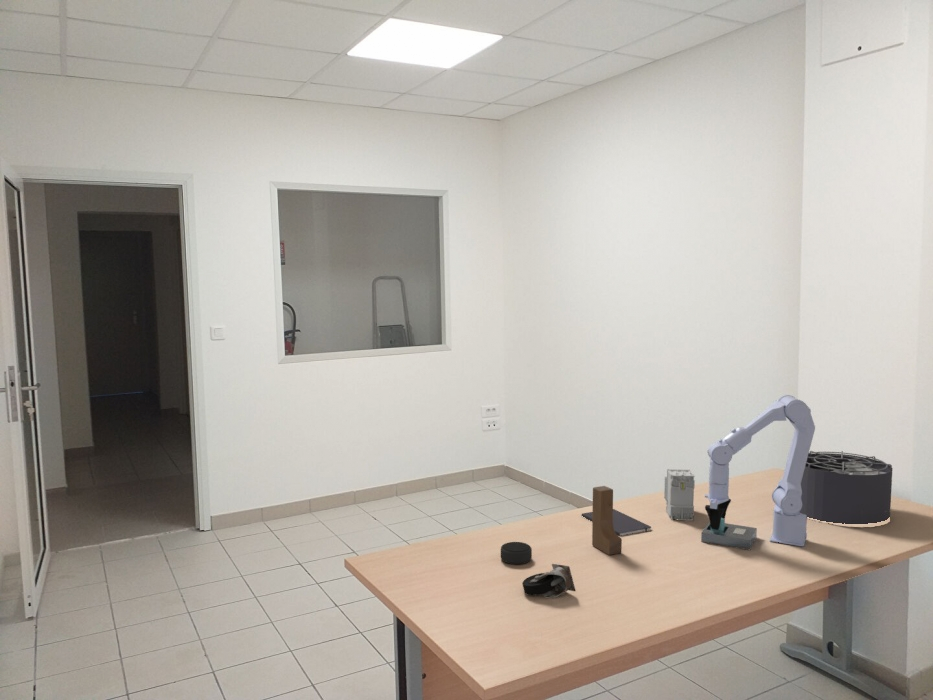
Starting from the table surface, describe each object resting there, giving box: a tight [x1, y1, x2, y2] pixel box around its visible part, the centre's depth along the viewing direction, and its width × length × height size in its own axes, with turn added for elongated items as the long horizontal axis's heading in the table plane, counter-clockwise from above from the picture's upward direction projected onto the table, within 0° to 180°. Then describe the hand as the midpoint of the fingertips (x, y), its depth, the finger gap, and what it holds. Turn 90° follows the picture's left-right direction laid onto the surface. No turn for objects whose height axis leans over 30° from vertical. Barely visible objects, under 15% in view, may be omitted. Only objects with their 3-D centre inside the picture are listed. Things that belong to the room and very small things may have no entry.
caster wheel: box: [522, 563, 577, 599], centre depth 188 cm, size 7×11×10 cm
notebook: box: [581, 508, 652, 537], centre depth 241 cm, size 13×2×21 cm
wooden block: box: [591, 485, 623, 556], centre depth 217 cm, size 9×4×18 cm, turn 24°
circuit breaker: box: [663, 468, 696, 521], centre depth 250 cm, size 8×14×15 cm, turn 174°
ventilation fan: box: [799, 450, 893, 524], centre depth 249 cm, size 30×18×30 cm
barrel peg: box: [711, 518, 726, 532], centre depth 227 cm, size 4×4×6 cm
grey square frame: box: [700, 521, 758, 550], centre depth 225 cm, size 14×12×3 cm
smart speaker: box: [500, 541, 533, 565], centre depth 211 cm, size 9×9×4 cm
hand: (717, 525), depth 227 cm, fingers open, 7 cm apart
